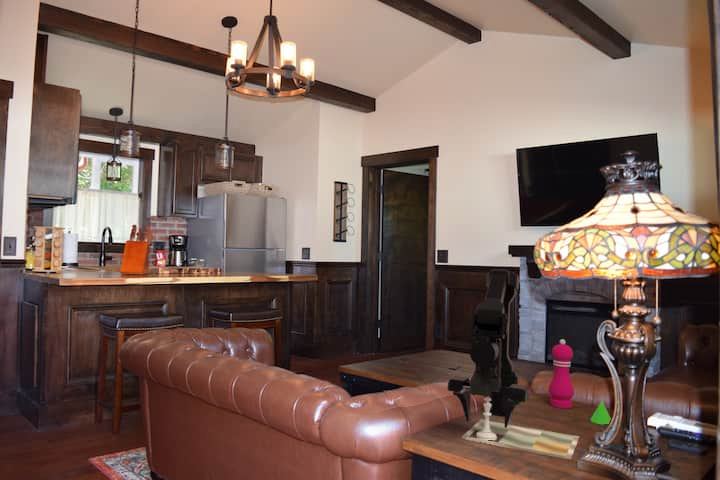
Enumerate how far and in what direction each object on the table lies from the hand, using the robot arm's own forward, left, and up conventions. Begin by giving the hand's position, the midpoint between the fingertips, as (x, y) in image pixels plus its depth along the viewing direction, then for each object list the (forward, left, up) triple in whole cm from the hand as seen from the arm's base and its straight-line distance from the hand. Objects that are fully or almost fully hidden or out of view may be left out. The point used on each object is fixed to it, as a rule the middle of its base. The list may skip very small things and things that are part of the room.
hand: (486, 424), depth 134 cm
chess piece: (0, 0, -3) cm, 3 cm away
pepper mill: (-43, +12, -3) cm, 45 cm away
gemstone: (-32, +24, -4) cm, 40 cm away
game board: (-4, +8, -3) cm, 9 cm away
